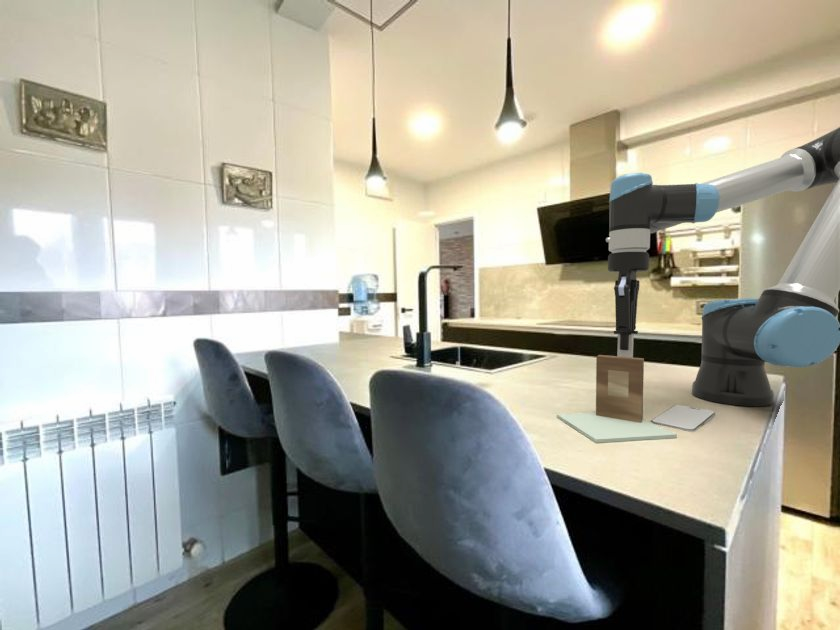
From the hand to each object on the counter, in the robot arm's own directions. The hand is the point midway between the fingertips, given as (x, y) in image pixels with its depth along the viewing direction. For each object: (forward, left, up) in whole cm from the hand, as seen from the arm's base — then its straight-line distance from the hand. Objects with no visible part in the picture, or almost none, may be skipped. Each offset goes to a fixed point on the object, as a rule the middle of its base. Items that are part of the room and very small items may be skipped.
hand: (624, 364), depth 82 cm
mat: (+8, +8, -10) cm, 15 cm away
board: (+5, +5, -10) cm, 12 cm away
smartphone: (-9, +6, -11) cm, 15 cm away
